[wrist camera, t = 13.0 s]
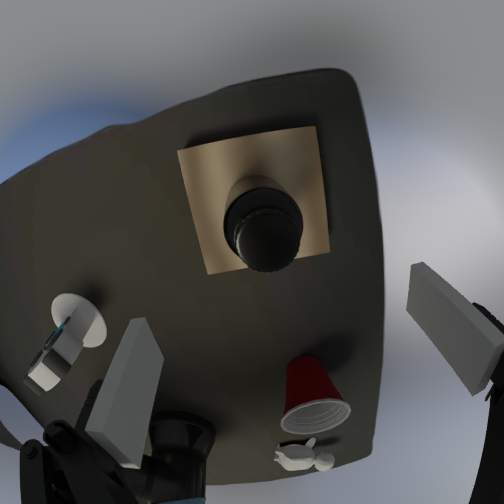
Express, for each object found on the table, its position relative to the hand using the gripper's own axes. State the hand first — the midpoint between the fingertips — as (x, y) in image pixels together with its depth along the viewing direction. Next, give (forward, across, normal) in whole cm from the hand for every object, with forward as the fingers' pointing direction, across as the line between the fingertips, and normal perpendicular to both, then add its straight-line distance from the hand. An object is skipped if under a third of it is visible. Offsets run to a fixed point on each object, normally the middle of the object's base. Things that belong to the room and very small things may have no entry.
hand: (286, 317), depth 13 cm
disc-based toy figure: (+25, +32, +13) cm, 43 cm away
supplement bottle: (+21, 0, 0) cm, 21 cm away
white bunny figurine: (+25, -2, +62) cm, 67 cm away
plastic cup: (+25, -4, +30) cm, 39 cm away
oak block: (+24, 0, -1) cm, 24 cm away
